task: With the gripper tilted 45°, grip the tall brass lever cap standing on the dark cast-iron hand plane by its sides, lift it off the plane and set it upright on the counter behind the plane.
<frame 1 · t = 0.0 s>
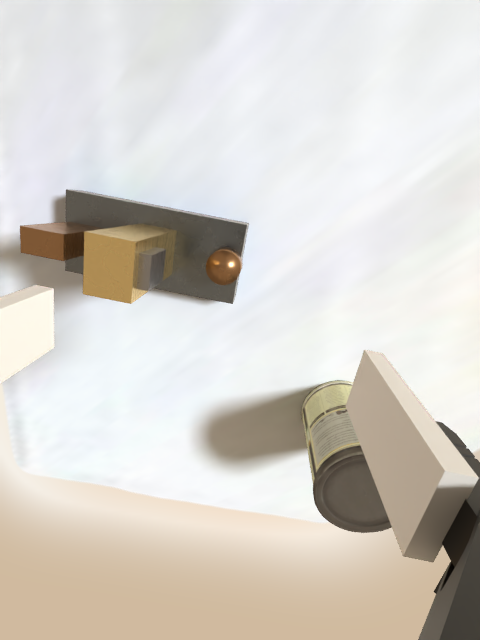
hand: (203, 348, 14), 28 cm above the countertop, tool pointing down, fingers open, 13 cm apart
coffee can: (338, 411, 47), on the countertop
hand plane: (161, 245, 41), on the countertop
lever cap: (156, 249, 38), point 3 cm above the countertop, touching hand plane
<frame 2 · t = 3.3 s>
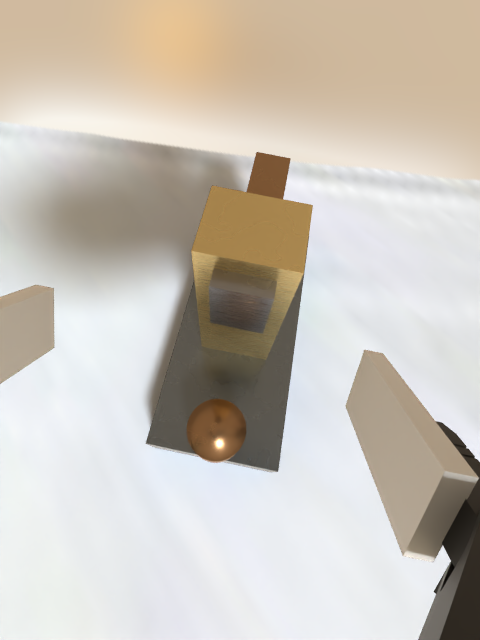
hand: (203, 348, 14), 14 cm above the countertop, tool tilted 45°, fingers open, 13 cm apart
hand plane: (237, 339, 30), on the countertop
lever cap: (238, 329, 26), point 3 cm above the countertop, touching hand plane
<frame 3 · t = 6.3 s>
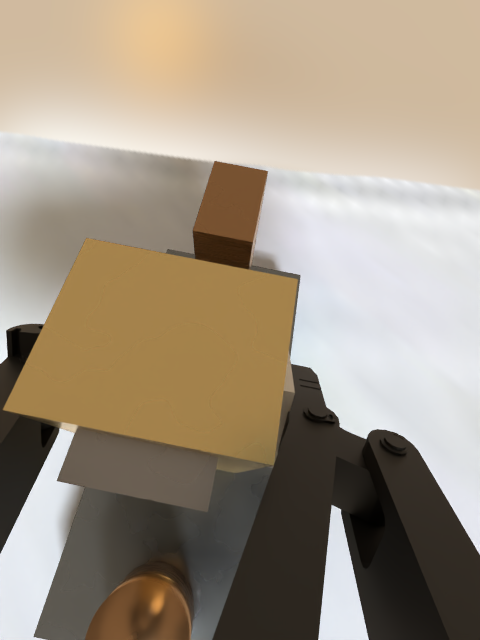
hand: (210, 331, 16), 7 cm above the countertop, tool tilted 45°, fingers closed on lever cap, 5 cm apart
hand plane: (200, 422, 21), on the countertop
lever cap: (196, 422, 18), point 3 cm above the countertop, touching gripper, hand plane
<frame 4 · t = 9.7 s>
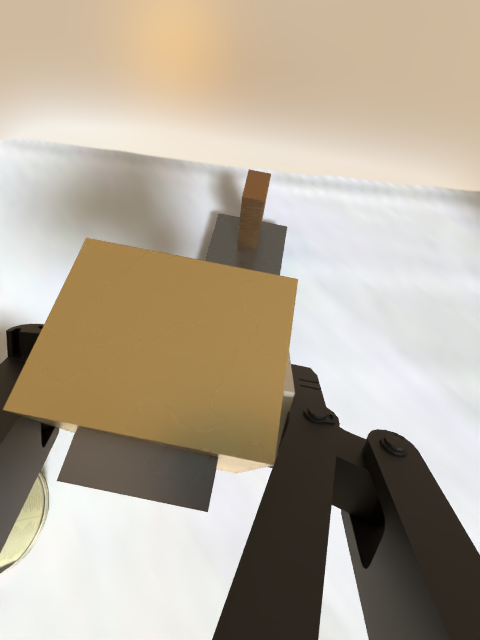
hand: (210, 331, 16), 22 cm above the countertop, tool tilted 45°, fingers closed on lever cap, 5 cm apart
hand plane: (237, 299, 42), on the countertop
lever cap: (196, 422, 18), point 18 cm above the countertop, touching gripper
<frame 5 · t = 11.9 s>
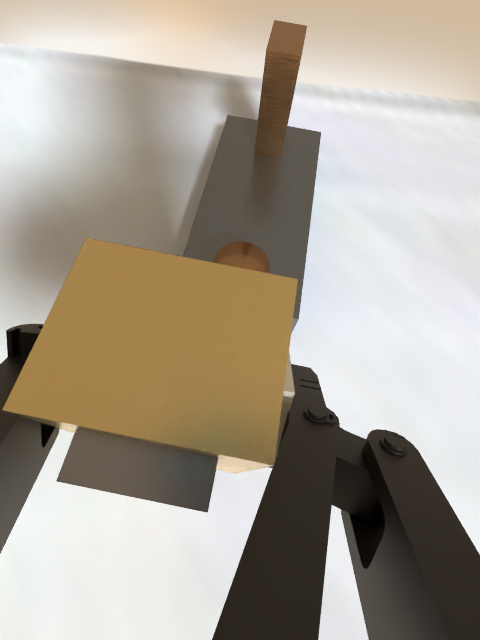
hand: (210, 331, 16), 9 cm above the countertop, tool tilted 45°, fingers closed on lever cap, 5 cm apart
hand plane: (253, 229, 31), on the countertop
lever cap: (196, 423, 18), point 6 cm above the countertop, touching gripper
when the fingers open (5 cm above the countertop, at t = 13.5 s): lever cap drops 1 cm, on the countertop.
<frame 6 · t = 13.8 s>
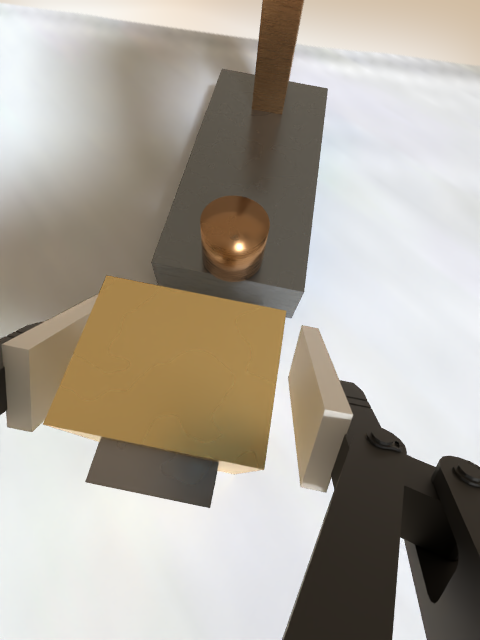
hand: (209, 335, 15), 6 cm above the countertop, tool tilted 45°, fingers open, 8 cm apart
hand plane: (250, 197, 27), on the countertop
lever cap: (198, 427, 19), on the countertop
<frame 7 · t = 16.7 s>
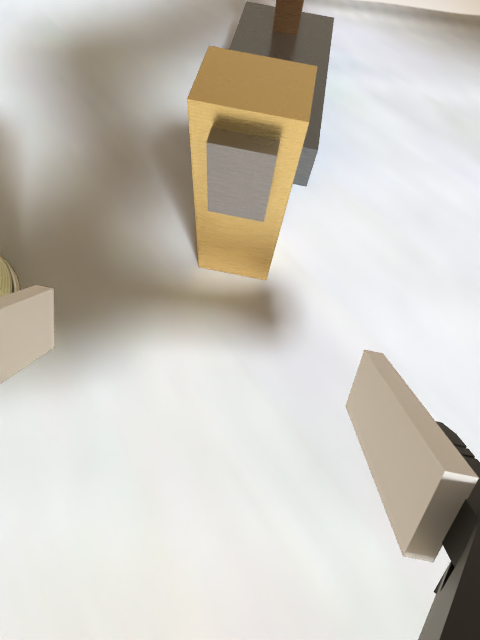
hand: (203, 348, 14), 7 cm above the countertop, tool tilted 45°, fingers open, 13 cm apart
hand plane: (270, 104, 33), on the countertop
lever cap: (237, 251, 25), on the countertop
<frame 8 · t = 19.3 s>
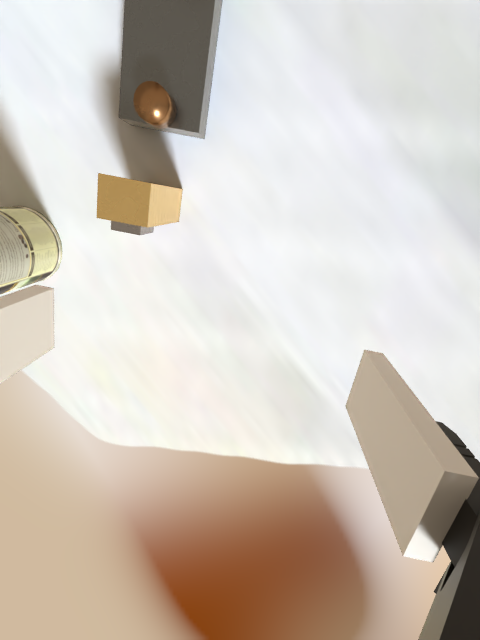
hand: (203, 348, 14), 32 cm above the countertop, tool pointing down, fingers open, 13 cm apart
coffee can: (28, 245, 46), on the countertop
hand plane: (177, 30, 37), on the countertop
lever cap: (161, 202, 43), on the countertop
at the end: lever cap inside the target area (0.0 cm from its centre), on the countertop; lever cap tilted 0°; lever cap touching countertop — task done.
